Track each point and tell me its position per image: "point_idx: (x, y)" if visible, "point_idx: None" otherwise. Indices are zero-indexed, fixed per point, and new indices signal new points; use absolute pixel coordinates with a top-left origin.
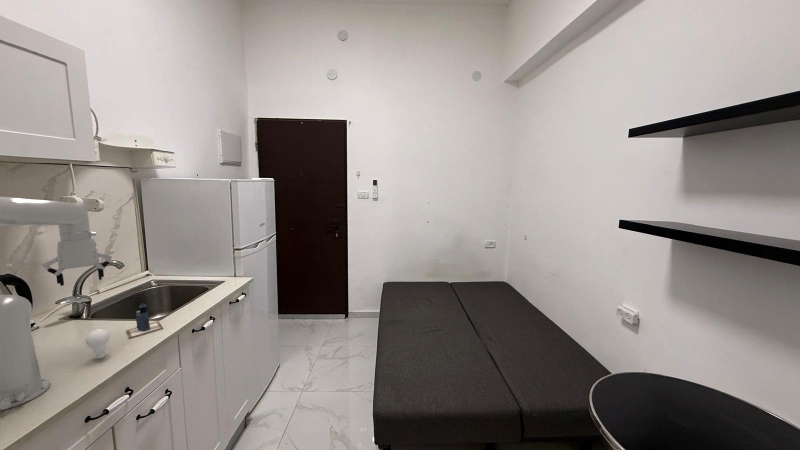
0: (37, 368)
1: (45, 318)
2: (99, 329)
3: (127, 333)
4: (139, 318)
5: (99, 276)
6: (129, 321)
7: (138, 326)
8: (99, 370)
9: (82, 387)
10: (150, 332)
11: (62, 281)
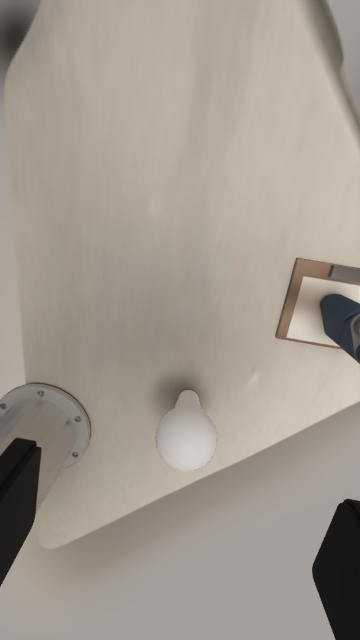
0: (53, 481)
1: None
2: (193, 460)
3: (289, 295)
4: (345, 338)
5: (334, 621)
6: (352, 144)
7: (326, 315)
8: None
9: (132, 494)
10: (334, 346)
11: (3, 569)
